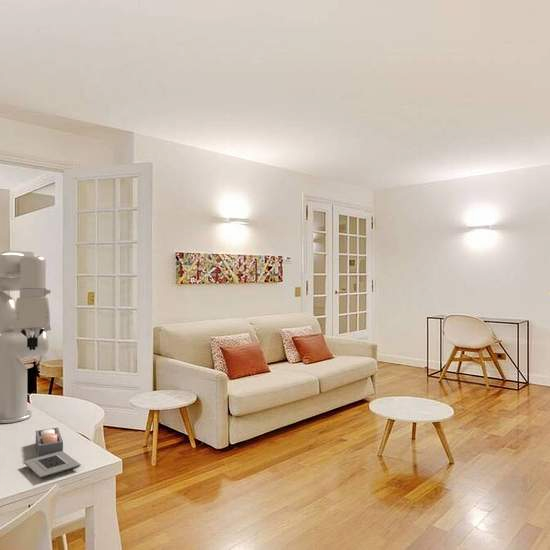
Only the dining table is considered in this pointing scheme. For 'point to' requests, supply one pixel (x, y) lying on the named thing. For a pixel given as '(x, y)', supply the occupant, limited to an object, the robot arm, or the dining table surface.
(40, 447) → the button console
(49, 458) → the electrical outlet
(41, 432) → the white button
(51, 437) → the pink button
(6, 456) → the dining table surface
